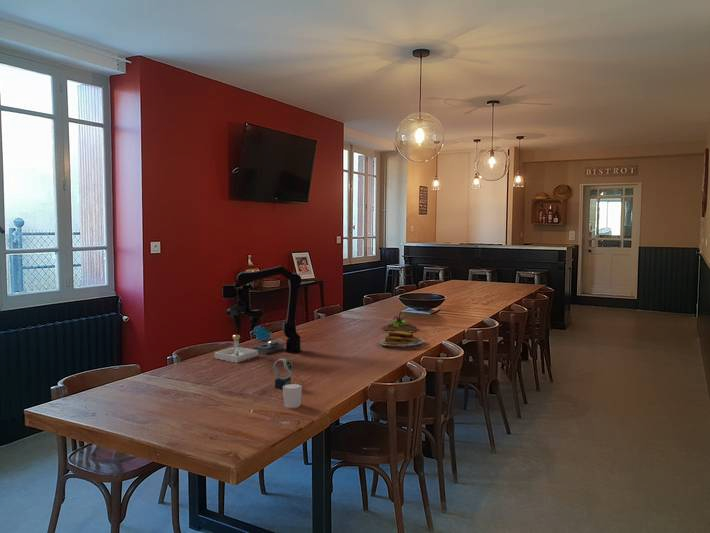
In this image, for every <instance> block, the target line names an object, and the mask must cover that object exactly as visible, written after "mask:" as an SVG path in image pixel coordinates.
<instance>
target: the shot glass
mask: <svg viewBox="0 0 710 533" xmlns="http://www.w3.org/2000/svg"><path fill="white" fill-rule="evenodd" d="M302 389H303V386H302V385H301V384H299V383H291V384H287V385H284V386H283V389H282V392H283V394H282V396H283V404H284V407H285V408H287V409H295V408H299V407H300V406H301V401H302V392H303V390H302Z"/></svg>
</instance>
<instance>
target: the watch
mask: <svg viewBox="0 0 710 533" xmlns="http://www.w3.org/2000/svg"><path fill="white" fill-rule="evenodd" d="M279 361H282V363H283V368H284V370H285V371H286V372H287V373H288V376H282V375H281V372H279V370H278V366H277V364H278V362H279ZM272 371H273V373H274V375H275V377H276V379H274V388H275V389H282V390H283V386H284V385H287V384H292V377H291V376H292V374H293V372H294V365H293V363H292V361H291V360H289V359H288V358H279V359H277V360H275V362H274V363H273V367H272Z"/></svg>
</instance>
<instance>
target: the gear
mask: <svg viewBox="0 0 710 533" xmlns="http://www.w3.org/2000/svg"><path fill="white" fill-rule="evenodd" d="M253 332H254V333H253V335H254V336H255V338H256V339H257V340H258V339H259V341H260V342H261V341H263V342H267V340H268V341H269V340H270V338H271V335H272V331H269V329H268V328H266V327H264V326H261V325H259V326H255V327H254V330H253Z"/></svg>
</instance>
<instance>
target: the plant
mask: <svg viewBox="0 0 710 533" xmlns="http://www.w3.org/2000/svg"><path fill="white" fill-rule="evenodd" d="M401 315H403V312H402V311H400V312H399V313H398V316H397V315H395V316H393V318H392V321H390V322H391V323H389V324H387V325H384V326H382V328H381V331H382V330H384V331H406V332H409V331H413V330H415V329H416V330H417V326H416V325H415V324H411V323H407V320H408V318H407V317H406V316H403V317H401ZM403 319H404V320H403ZM384 331H383V332H384Z"/></svg>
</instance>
